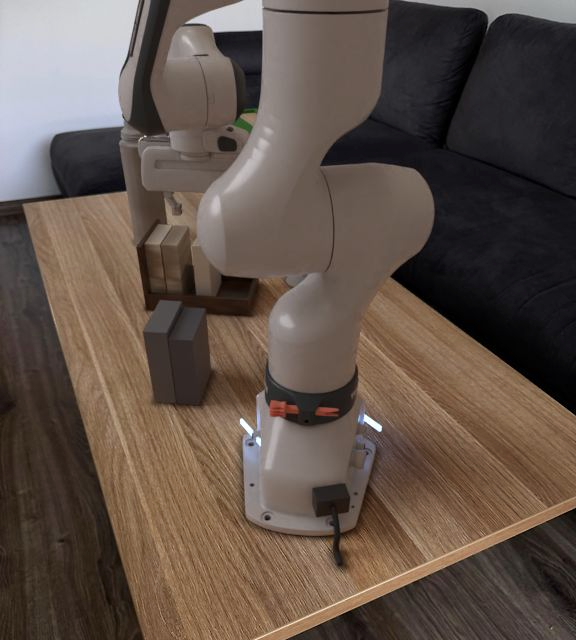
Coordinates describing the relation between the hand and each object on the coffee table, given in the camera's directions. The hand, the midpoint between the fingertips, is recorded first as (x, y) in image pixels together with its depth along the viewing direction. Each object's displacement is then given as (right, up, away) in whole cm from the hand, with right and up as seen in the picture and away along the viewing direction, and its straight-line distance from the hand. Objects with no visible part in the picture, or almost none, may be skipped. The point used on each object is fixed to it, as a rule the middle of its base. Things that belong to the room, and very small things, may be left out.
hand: (203, 215), depth 107 cm
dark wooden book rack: (-1, -13, +11) cm, 17 cm away
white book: (0, -12, +10) cm, 16 cm away
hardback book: (+8, +11, +42) cm, 44 cm away
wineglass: (+19, -9, +16) cm, 26 cm away
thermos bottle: (-16, +3, +32) cm, 36 cm away
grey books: (-1, -31, -13) cm, 33 cm away
